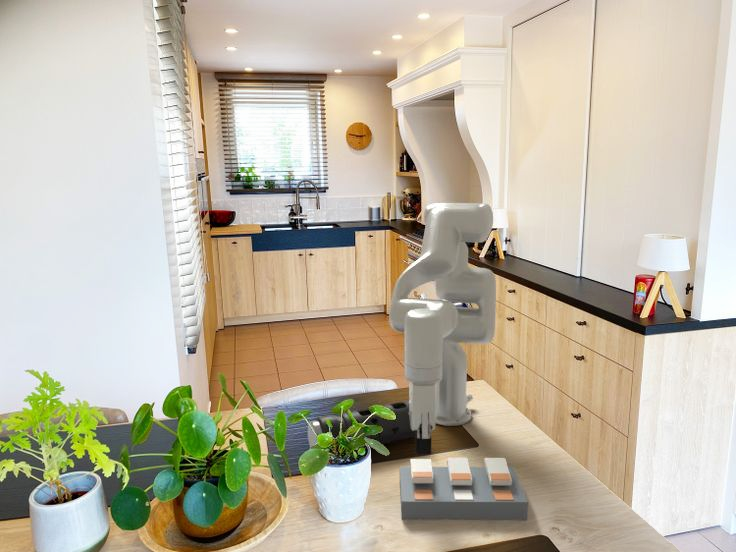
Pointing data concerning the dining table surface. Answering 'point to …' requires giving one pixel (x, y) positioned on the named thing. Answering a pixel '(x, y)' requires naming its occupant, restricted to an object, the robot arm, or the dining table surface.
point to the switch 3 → (497, 471)
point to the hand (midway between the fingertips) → (423, 452)
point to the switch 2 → (459, 471)
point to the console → (461, 497)
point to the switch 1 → (421, 471)
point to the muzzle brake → (391, 428)
